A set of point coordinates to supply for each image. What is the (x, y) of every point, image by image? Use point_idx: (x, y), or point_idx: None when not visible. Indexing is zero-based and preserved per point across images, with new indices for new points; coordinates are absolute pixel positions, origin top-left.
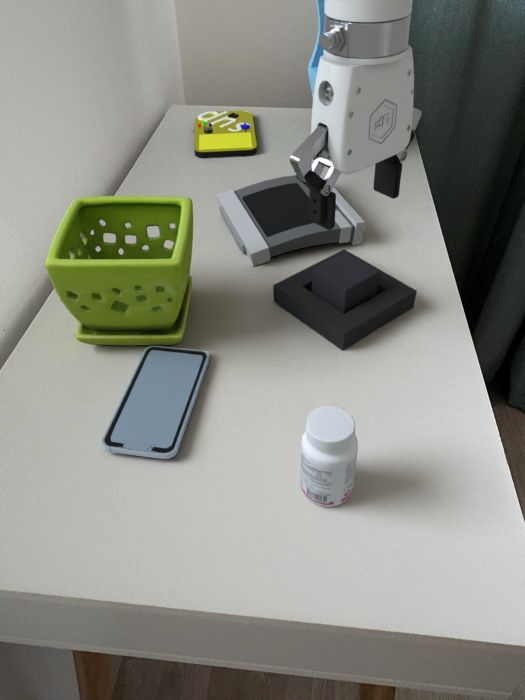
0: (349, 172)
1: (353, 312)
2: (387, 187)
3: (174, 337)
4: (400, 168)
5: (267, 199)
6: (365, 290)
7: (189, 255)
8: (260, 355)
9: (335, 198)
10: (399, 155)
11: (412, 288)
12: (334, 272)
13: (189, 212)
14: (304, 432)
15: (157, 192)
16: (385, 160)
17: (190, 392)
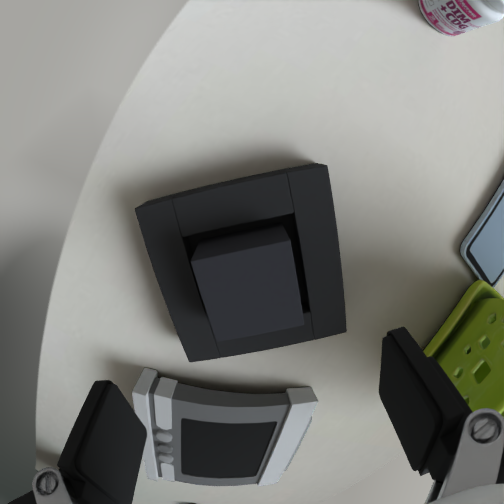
0: (480, 493)
1: (277, 208)
2: (118, 419)
3: (486, 283)
4: (67, 453)
5: (232, 467)
6: (229, 243)
7: (497, 369)
8: (416, 220)
9: (429, 407)
10: (61, 495)
11: (137, 218)
12: (274, 299)
13: None
14: (501, 18)
15: (313, 491)
16: (106, 495)
17: (501, 199)
